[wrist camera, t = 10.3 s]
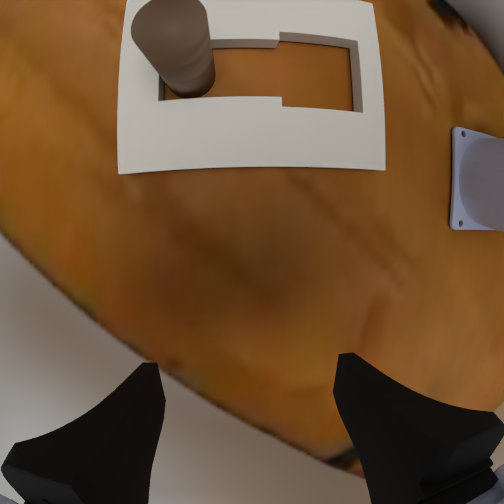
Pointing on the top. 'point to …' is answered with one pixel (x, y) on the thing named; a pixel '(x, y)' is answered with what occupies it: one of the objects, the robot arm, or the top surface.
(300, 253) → the top surface
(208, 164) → the keyhole plate
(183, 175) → the top surface
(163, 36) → the peg
